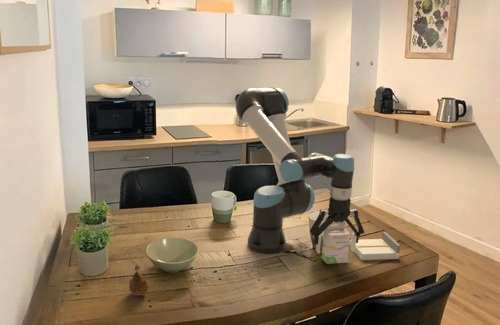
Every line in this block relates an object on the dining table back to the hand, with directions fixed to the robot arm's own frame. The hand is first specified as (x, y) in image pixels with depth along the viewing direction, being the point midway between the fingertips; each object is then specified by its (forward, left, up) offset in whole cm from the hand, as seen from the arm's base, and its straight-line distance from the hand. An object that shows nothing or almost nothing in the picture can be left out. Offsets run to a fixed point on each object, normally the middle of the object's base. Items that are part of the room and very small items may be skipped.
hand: (335, 251), depth 175 cm
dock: (+18, +6, -4) cm, 19 cm away
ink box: (0, 0, -4) cm, 4 cm away
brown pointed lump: (-71, -17, -4) cm, 73 cm away
